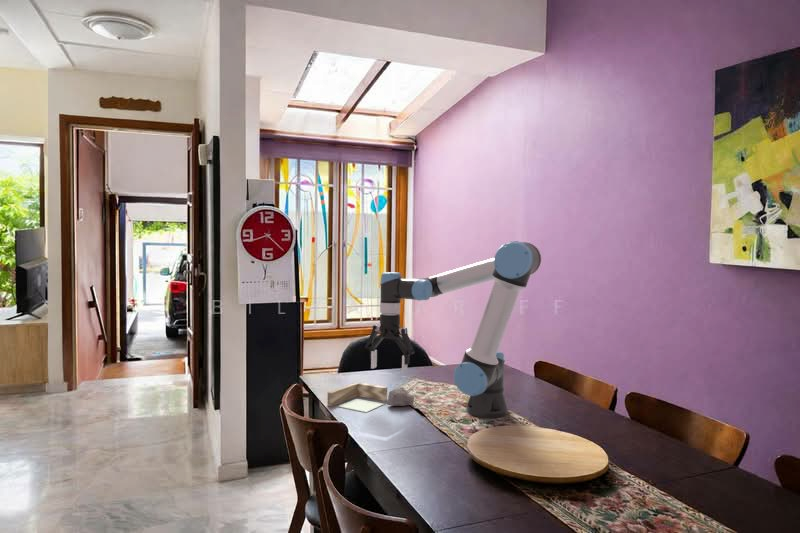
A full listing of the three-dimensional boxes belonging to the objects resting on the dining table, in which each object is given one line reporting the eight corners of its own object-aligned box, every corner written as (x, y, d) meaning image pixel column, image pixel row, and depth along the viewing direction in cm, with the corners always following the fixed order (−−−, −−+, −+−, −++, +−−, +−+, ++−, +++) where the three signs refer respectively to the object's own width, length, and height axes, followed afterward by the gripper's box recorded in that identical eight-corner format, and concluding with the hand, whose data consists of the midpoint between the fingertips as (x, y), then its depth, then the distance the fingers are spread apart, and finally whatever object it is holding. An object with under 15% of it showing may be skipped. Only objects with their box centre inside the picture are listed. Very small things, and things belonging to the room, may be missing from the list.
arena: (387, 399, 207) (387, 387, 207) (359, 411, 191) (360, 398, 191) (356, 394, 215) (356, 381, 215) (327, 405, 199) (327, 392, 199)
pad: (384, 404, 201) (384, 403, 201) (366, 412, 191) (366, 411, 191) (356, 399, 208) (356, 398, 207) (337, 406, 197) (337, 406, 197)
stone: (397, 409, 193) (397, 393, 193) (383, 404, 199) (383, 389, 199) (417, 405, 199) (417, 389, 200) (403, 401, 206) (403, 386, 206)
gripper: (424, 315, 193) (423, 373, 194) (368, 310, 206) (367, 364, 207) (414, 317, 187) (412, 377, 187) (356, 311, 199) (355, 367, 200)
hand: (388, 370), depth 197 cm, fingers open, 13 cm apart
